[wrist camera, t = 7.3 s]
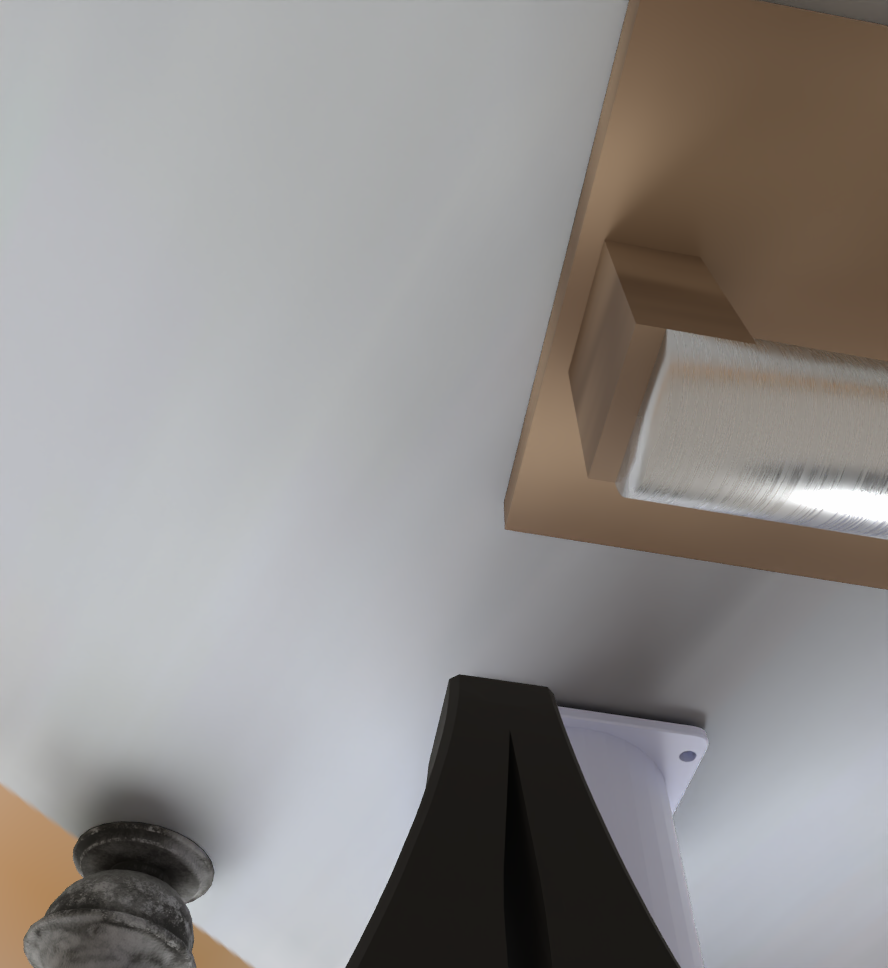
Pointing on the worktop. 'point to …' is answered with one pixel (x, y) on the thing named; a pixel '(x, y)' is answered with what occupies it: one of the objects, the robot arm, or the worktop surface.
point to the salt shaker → (124, 902)
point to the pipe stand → (724, 302)
